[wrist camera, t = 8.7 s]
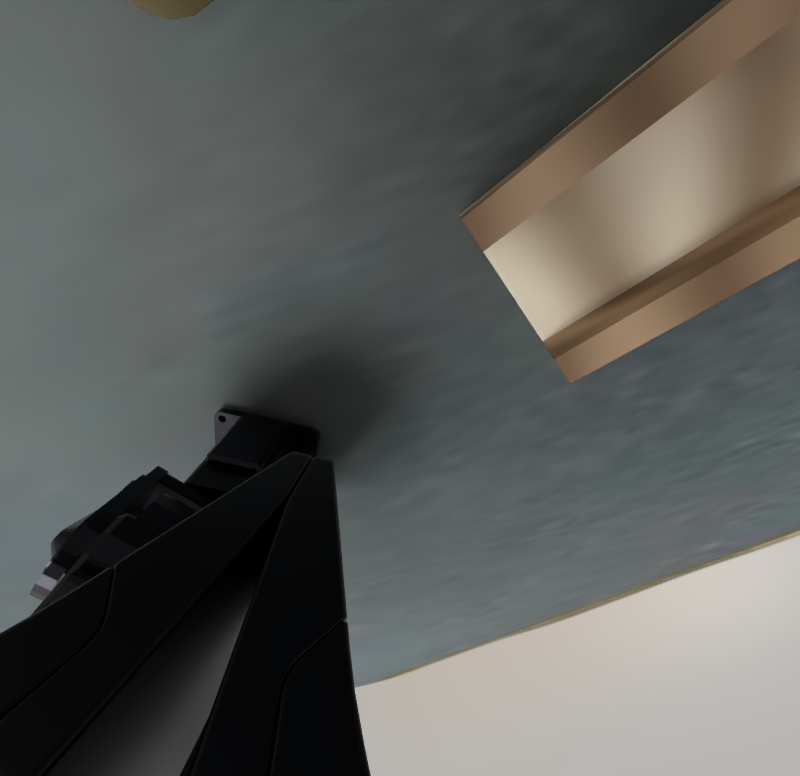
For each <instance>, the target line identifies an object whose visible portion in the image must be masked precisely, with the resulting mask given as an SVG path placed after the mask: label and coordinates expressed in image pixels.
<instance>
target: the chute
mask: <svg viewBox="0 0 800 776" xmlns="http://www.w3.org/2000/svg"><path fill="white" fill-rule="evenodd" d="M459 216H460V217H461V219H462V221H463V222H464V224H465V225H466V227H467V228H468V230H469V231H470V233H471V234H472V236H473V237H474V239H475V240H476V242H477V243H478V245H479V246H480V248H481V249H482V251H483V252H484V254H485V255H486V257H487V258H488V260H489V261H490V263H491V264H492V266H493V267H494V269H495V270H496V272H497V273H498V275H499V276H500V278H501V279H502V281H503V282H504V284H505V285H506V287H507V288H508V290H509V291H510V293H511V294H512V296H513V297H514V299H515V300H516V302H517V304H518V305H519V307H520V308H521V310H522V311H523V313H524V314H525V316H526V317H527V319H528V320H529V322H530V323H531V325H532V326H533V328H534V329H535V331H536V332H537V334H538V335H539V337H540V338H541V340H542V341H543V343H544V344H545V346H546V348H547V349H548V351H549V352H550V354H551V355H552V357H553V358H554V360H555V361H556V363H557V364H558V366H559V367H560V369H561V370H562V372H563V373H564V375H565V377H566V378H567V380H568V381H569V383H570V384H571V383H573V382H575V381H577V380H578V379H580V378H582V377H584V376H586V375H587V374H589V373H591V372H593V371H595V370H597V369H598V368H600V367H602V366H604V365H606V364H608V363H609V362H611V361H613V360H615V359H617V358H619V357H620V356H622V355H624V354H626V353H628V352H629V351H631V350H633V349H635V348H637V347H639V346H640V345H642V344H644V343H646V342H648V341H650V340H651V339H653V338H655V337H657V336H659V335H661V334H662V333H664V332H666V331H668V330H670V329H671V328H673V327H675V326H677V325H679V324H681V323H682V322H684V321H686V320H688V319H690V318H692V317H693V316H695V315H697V314H699V313H701V312H703V311H704V310H706V309H708V308H710V307H712V306H714V305H715V304H717V303H719V302H721V301H723V300H724V299H726V298H728V297H730V296H732V295H734V294H735V293H737V292H739V291H741V290H743V289H745V288H746V287H748V286H750V285H752V284H754V283H756V282H757V281H759V280H761V279H763V278H765V277H766V276H768V275H770V274H772V273H774V272H776V271H777V270H779V269H781V268H783V267H785V266H787V265H788V264H790V263H792V262H794V261H796V260H798V259H799V258H800V0H722V1H721V2H720V3H718V4H717V5H716V6H715V7H713V8H712V9H711V10H710V11H709V12H707V13H706V14H705V15H704V16H702V17H701V18H700V19H699V20H697V21H696V22H695V23H694V24H693V25H691V26H690V27H689V28H688V29H686V30H685V31H684V32H683V33H682V34H680V35H679V36H678V37H677V38H675V39H674V40H673V41H672V42H670V43H669V44H668V45H667V46H666V47H664V48H663V49H662V50H661V51H659V52H658V53H657V54H656V55H655V56H653V57H652V58H651V59H650V60H648V61H647V62H646V63H645V64H643V65H642V66H641V67H640V68H639V69H637V70H636V71H635V72H634V73H632V74H631V75H630V76H629V77H628V78H626V79H625V80H624V81H623V82H621V83H620V84H619V85H618V86H617V87H615V88H614V89H613V90H612V91H610V92H609V93H608V94H607V95H605V96H604V97H603V98H602V99H601V100H599V101H598V102H597V103H596V104H594V105H593V106H592V107H591V108H590V109H588V110H587V111H586V112H585V113H583V114H582V115H581V116H580V117H578V118H577V119H576V120H575V121H574V122H572V123H571V124H570V125H569V126H567V127H566V128H565V129H564V130H563V131H561V132H560V133H559V134H558V135H556V136H555V137H554V138H553V139H551V140H550V141H549V142H548V143H547V144H545V145H544V146H543V147H542V148H540V149H539V150H538V151H537V152H536V153H534V154H533V155H532V156H531V157H529V158H528V159H527V160H526V161H524V162H523V163H522V164H521V165H520V166H518V167H517V168H516V169H515V170H513V171H512V172H511V173H510V174H509V175H507V176H506V177H505V178H504V179H502V180H501V181H500V182H499V183H497V184H496V185H495V186H494V187H493V188H491V189H490V190H489V191H488V192H486V193H485V194H484V195H483V196H482V197H480V198H479V199H478V200H477V201H475V202H474V203H473V204H472V205H470V206H469V207H468V208H467V209H466V210H464V211H463V212H462V213H461V214H459Z"/></svg>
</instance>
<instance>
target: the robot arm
mask: <svg viewBox="0 0 800 776" xmlns="http://www.w3.org/2000/svg"><path fill="white" fill-rule="evenodd" d="M222 416H224V417H225V418H226V419H225V418H223V417H222ZM214 423H215V444H216V445H215V446H214V447H213V448H212V450H211V451H210V452H209V453H208V454H207V457H206V458H205V460H204V461H203V462H202V463H201V464H200V465H199V466H198V467H197V469H196V470H195V471H194V472H193V473H192V474H191V475H190V476H189V478H188V479H187V480H186V481H185V482H184V483H183V482H181V481H179V480H178V479H176V478H174V477H173V476H171V475H169V474H168V471H166V470H165V469H163V468H161V467H159V466H157V467H156V468H155V469H154V470H152V471H151V472H150V473H149V474H147V475H146V476H145V475H142V476H140V477H139V478H138V479H137V480H135V481H131V482H130V483H129V484H128V485H127V486H126V487H125V488H124V489H123V490H122V491H121V492H120V493H119V494H117V495H116V496H115V497H114V498H112V499H111V500H110V501H108V502H107V503H106V504H105V505H103V506H102V507H101V508H99V509H98V510H96V511H95V512H93V513H91V514H90V515H88V516H86V517H84V518H83V519H81V520H79V521H77V522H76V523H74V524H72V525H70V526H69V527H67V528H65V529H64V530H63V531H61V532H60V533H59V534H58V535H57V536H56V537H55V539H54V540H53V541H52V543H51V555H52V559H51V560H50V561H49V563H48V564H47V566H46V567H45V569H44V572H43V573H42V575H41V576H40V578H39V579H38V581H37V582H36V583H35V585H34V587H33V589H32V590H31V595H32V596H34V597H36V598H38V599H40V600H43V602H42V603H41V604H40V605H39V606H38V608H37V609H36V610H35V611H34V612H33V614H32V615H31V616H30V617H28V618H26V619H25V620H23V621H21V622H19V623H17V624H16V625H14V626H12V627H10V628H9V629H7V630H5V631H3V632H2V633H0V776H371V775H370V770H369V766H368V761H367V756H366V751H365V746H364V741H363V735H362V729H361V724H360V718H359V713H358V707H357V701H356V695H355V688H354V680H353V671H352V663H351V654H350V645H349V632H348V623H347V622H346V620H347V612H346V600H345V588H344V577H343V565H342V553H341V541H340V530H339V518H338V506H337V494H336V483H335V471H334V462H333V461H332V460H329V459H325V458H321V457H318V450H319V442H320V434H319V432H318V431H316V430H315V429H311V428H307V427H303V426H298V425H294V424H289V423H285V422H281V421H277V420H273V419H268V418H264V417H260V416H255V415H251V414H246V413H241V412H237V411H233V410H228V409H220V410H219V411H218V412H217V413H216V414H215V416H214ZM309 436H312V437H313V438H314V439H311V438H310V437H309Z"/></svg>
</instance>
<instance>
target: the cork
mask: <svg viewBox="0 0 800 776" xmlns="http://www.w3.org/2000/svg"><path fill="white" fill-rule="evenodd" d="M129 1H130V2H132V3H133V4H135V5H136V6H138V7H139V8H141V9H142V10H144V11H145V12H147V13H148V14H152V15H156V16H160V17H164V18H168V19H177V18H182V17H187V16H192V15H195V14H196V13H198V12H199V11H200V10H201V9H203V8H204V7H205V6H207V5H208V4H209V3H210V2H212V1H213V0H129Z"/></svg>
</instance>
